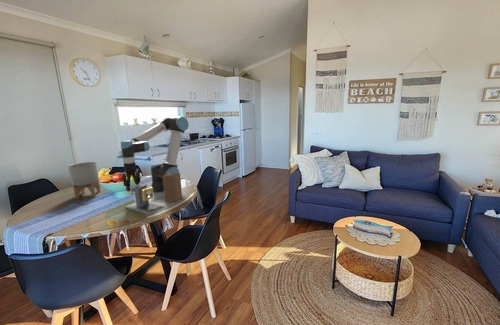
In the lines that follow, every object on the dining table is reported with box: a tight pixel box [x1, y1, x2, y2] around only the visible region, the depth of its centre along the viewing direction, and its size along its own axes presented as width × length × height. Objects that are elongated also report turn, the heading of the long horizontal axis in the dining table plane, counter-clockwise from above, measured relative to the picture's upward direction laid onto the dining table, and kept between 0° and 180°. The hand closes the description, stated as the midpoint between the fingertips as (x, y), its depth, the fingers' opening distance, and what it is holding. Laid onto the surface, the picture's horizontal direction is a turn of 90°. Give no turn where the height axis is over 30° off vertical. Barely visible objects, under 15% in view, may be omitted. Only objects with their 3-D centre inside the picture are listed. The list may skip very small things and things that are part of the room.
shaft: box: [125, 184, 154, 196], centre depth 172 cm, size 24×5×5 cm, turn 60°
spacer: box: [141, 186, 155, 201], centre depth 168 cm, size 2×8×8 cm, turn 150°
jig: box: [125, 183, 165, 215], centre depth 171 cm, size 24×14×16 cm, turn 60°
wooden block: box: [162, 172, 183, 202], centre depth 185 cm, size 10×10×20 cm
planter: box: [67, 161, 101, 200], centre depth 197 cm, size 19×19×26 cm
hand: (133, 193), depth 176 cm, fingers open, 4 cm apart
